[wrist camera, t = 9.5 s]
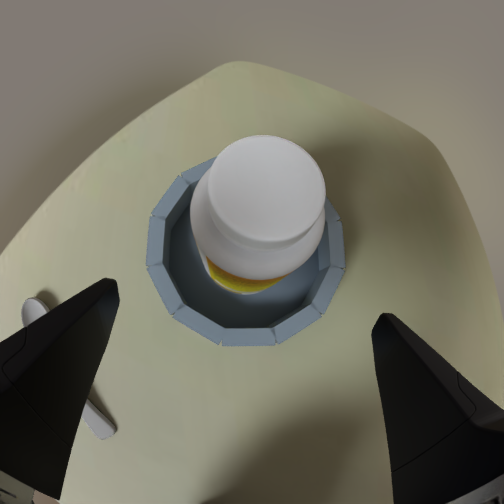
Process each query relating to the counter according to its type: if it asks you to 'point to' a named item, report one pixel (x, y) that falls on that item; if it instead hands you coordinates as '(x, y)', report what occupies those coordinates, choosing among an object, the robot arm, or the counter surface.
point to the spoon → (90, 414)
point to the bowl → (228, 303)
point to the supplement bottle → (258, 213)
